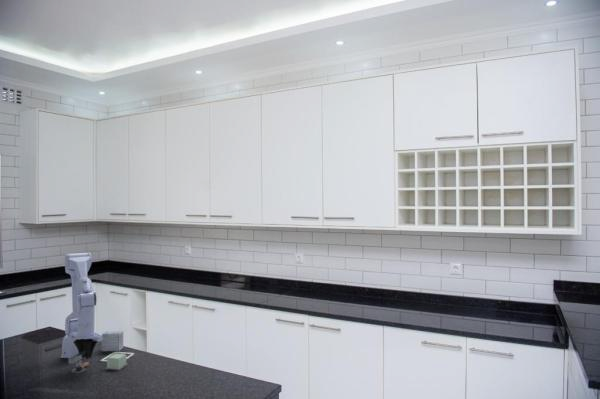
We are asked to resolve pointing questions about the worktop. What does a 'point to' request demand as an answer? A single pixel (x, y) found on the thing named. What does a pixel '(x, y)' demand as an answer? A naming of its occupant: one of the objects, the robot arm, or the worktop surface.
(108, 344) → the medicine box
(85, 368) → the lock plate
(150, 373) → the worktop surface
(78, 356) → the tee key
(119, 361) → the cover
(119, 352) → the tray
